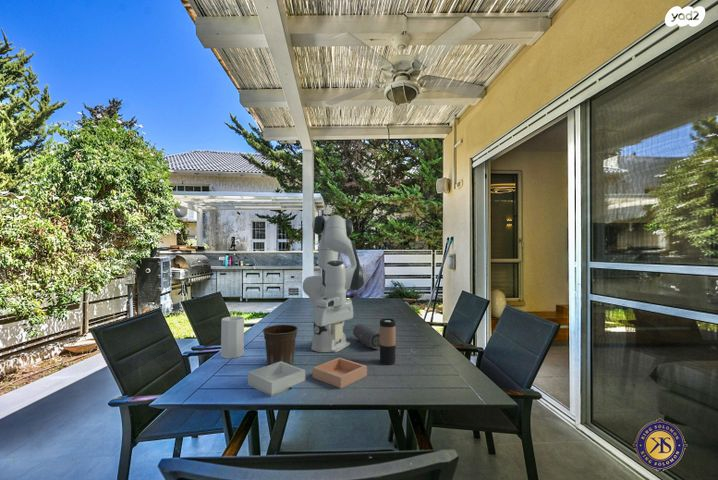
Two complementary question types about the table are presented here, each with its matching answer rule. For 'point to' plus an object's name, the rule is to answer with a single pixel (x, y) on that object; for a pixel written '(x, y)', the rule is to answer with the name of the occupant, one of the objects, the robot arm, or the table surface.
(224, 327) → the cup
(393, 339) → the travel mug
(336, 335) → the sandstone block
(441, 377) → the table surface
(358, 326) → the bluetooth speaker
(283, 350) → the plant pot
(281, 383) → the light grey bin
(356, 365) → the terracotta bin
